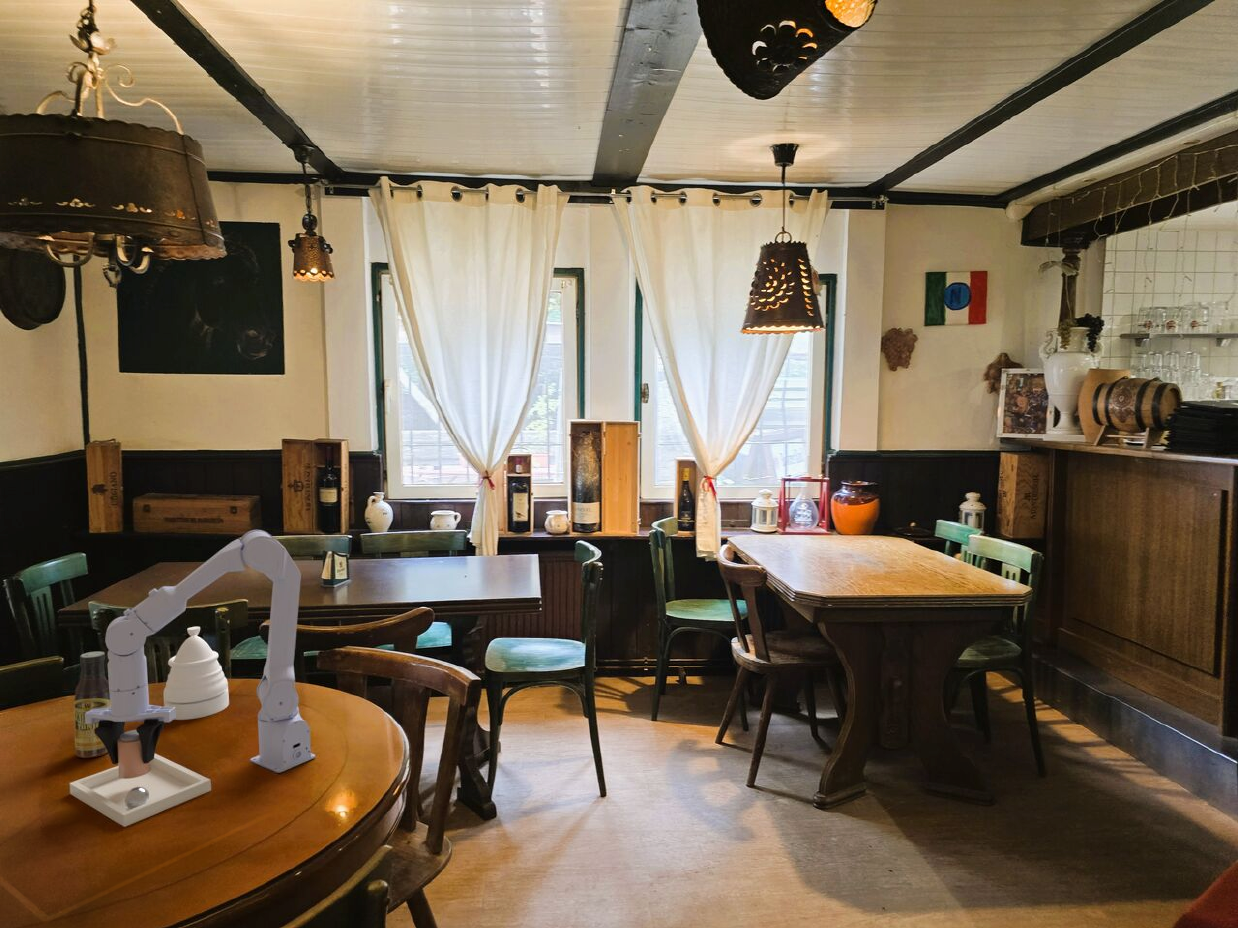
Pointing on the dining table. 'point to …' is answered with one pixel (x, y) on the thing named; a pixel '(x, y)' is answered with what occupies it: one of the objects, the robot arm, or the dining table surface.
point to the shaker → (131, 756)
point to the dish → (162, 783)
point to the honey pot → (195, 680)
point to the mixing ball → (136, 797)
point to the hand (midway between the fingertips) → (133, 761)
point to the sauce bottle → (90, 704)
